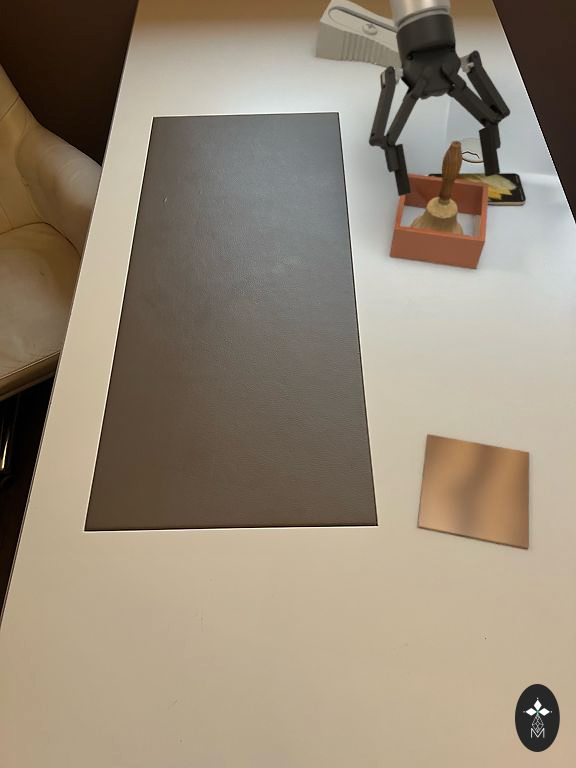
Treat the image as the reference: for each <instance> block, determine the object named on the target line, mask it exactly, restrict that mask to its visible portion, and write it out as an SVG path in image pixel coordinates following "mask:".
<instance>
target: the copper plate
mask: <svg viewBox="0 0 576 768" xmlns="http://www.w3.org/2000/svg"><path fill="white" fill-rule="evenodd" d="M420 489H421V491H420V500H419V509H418V518H417V528H419V529H424V530H429V531H434V532H439V533H444V534H450V535H454V536H458V537H465V538H469V539H474V540H479V541H483V542H490V543H493V544H499V545H502V546H503V545H504V546H509V547H513V548H518V549H524V550H528V549H530V548H529V546H530V537H529V536H530V522H529V521H530V452H528V451H523V450H518V449H513V448H508V447H503V446H495V445H490V444H486V443H485V444H484V443H481V442H480V443H479V442H473V441H467V440H462V439H458V438H452V437H445V436H440V435H435V434H430V433H429V434H427V435H426V445H425V454H424V462H423V472H422V481H421V488H420Z"/></svg>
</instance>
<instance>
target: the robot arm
mask: <svg viewBox="0 0 576 768" xmlns="http://www.w3.org/2000/svg"><path fill="white" fill-rule="evenodd" d="M389 3H390V10H391V15H392V16H391V17H392V20H393V22H394V27H395V28H396V29H397V30H399V31H398V32H397V34H396V40H397V45H398V51H399V57H400V61H401V68H400V69H394V67H392V66H389V67H388V68H385V69H384V70H383V71H382V72H381V73H380V76H379V77H380V78H379V79H380V93H379V99H378V101H377V106H376V108H375V109H376V110H375V114H374V118H373V122H372V126H371V131H370V134H369V139H368V144H369V146H370V147H377V148H380V149H381V150H382V151H383V152H384V157H385V163H386V167H387V171H388V172H389V173H394V180H395V183H396V188H397V189H396V190H397V196H398V197H400V196H402V195H405V194H408V193H411V190H410V184H409V178H408V174H409V172H408V167H407V162H406V161H407V160H406V157H405V151H404V144H403V143H398V144H396V143H397V141H398V139H399V138H400V136H401V134H402V132H403V130H404V128H405V126H406V124H407V121H408V120H409V117H410V116H411V114H412V112H413V109H414V107H415V106H416V104H417V102H418V100H419V99H420V100H421V101H422V100H427V99H429V98H431V97H436V98H438V97H442V96H444V95H447V96H449V98H452V99H454V100H455V101H456V102H457V103H458V104H459V105H461V107H462V108H463V109H464V110H466V111H467V112H468V113H469V114H470V115H471V117H473V118H474V119H475V120H476V121H477V122H478V123H479V124H480V125H481V126H482V128H481V129H478V136H479V137H478V138H479V142H480V143H479V144H480V149H481V150H480V151H481V156H482V162H483V170H484V173H485V177H488V176H492V175H495V174H498V173H501V168H500V161H499V155H498V149H500V148H501V146H502V141H501V135H500V127H499V125H500V123H501V122H502V120H505V118H507V117H509V116H510V114H511V110H510V107H509V106H508V105H507V103H506V102H505V100H504V98H503V97H502V95H501V93H500V92H499V90H498V89H497V87H496V86H495V84H494V82H493V81H492V79H491V77H490V76H489V74H488V73H487V71H486V70H485V67H484V66H483V62H482V58H481V54H480V52H479V51H478V50H473V51H471V52H470V53H469V54H467V55H463V56H461V57H460V56H459V55H458V53H457V49H456V43H457V41H456V34H455V28H454V27H455V26H454V21H453V17H452V16H450V15H449V14H450V12H451V10H452V6H451V1H450V0H389ZM460 69H461V71H462V73H465V74H466V77H467V78H468V80H469V82H470V84H471V86H472V87H473V89H474V91H475V92H476V93H477V94H476V93H475V92H474V91H473V90H472V89H471V88H470V86H468V85H467V82H466V80H465V79H463V78H462V77H461V76H460V74H459V71H460ZM400 80H401V82H402V83H404V84H405V86H406V87H407V90H406V91H405V94H404V96H403V98H402V101H401V104H400V105H399V108H398V110H397V111H396V113H395V116H394V117H393V119H392V122H391V123H390V126H389V128H388V130H387V132H386V129H387V124H388V121H389V116H390V113H391V108H392V104H393V100H394V96H395V92H396V87H397V85H399V83H400ZM385 133H386V134H385Z"/></svg>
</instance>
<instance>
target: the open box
mask: <svg viewBox="0 0 576 768" xmlns="http://www.w3.org/2000/svg"><path fill="white" fill-rule="evenodd" d="M408 178H409V184H410V190H411V193H408V194H405V195H402V196H399V198H398V205H397V209H396V214H395V215H396V216H395V221H394V227H393V232H392V238H391V243H390V249H389V250H390V251H389V257H390V258H396V259H403V260H410V261H415V262H417V261H418V262H424V263H431V264H438V265H445V266H451V267H459V268H464V269H465V268H467V269H473V270H476V269H477V268H478V264H479V261H480V259H481V255H482V252H483V250H484V247H485V243H486V236H487V235H486V233H487V218H488V205H489V204H488V187H489V184H488V183H480V182H472V181H464V180H456V179H455V181H454V183H453V187H452V192H451V200H453V201H454V202H455V203H456V205H457V209H458V210H457V213H460V214H467V215H474V218H473V219H474V221H473V233H472V234H473V235H470V234H464V233H463V234H455V233H448V232H441V231H434V230H426V229H419V228H412V227H410V226H403V225H402V217H403V212H404V207H406V206H407V207H413V208H414V207H415V208H423V209H426V207H427V205H428V203H429V201H430V200H432V199H434V198H436V197H439V193H440V190H441V186H442V178H440V177H432V176H428V175H424V174H415V173H408Z"/></svg>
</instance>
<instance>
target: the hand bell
mask: <svg viewBox="0 0 576 768" xmlns="http://www.w3.org/2000/svg"><path fill="white" fill-rule="evenodd" d="M462 164H463V151H462V142H461V141H460V140H453V141H451V144H450V145H449V148H447V150H446V152H445V154H444V156H443V159H442V163H441V174H442V186H441V190H440V193H439V197H436V198H434V199H432V200H430V201H429V203H428V205H427V207H426V208H425V209H424V212H423V214H421V215H419V216H418V217H416V218H415V219H414V220H413V221H412V222H411V224H410V225H409V227H412V228H419V229H426V230H434V231H441V232H448V233H455V234H463V235H464V231H463V228H462V226H461V224H460V223H459V222H458V212H457V210H458V209H457V205H456V203H455V202H454V201H453V200H451V192H452V187H453V183H454V181H455V179H456V178H457V176H458V174H459V173H460V171H461V168H462Z"/></svg>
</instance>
